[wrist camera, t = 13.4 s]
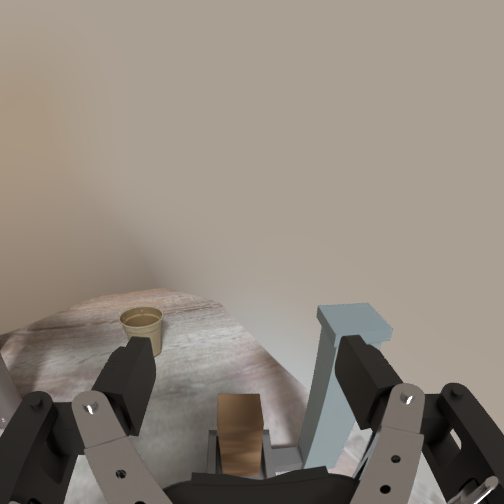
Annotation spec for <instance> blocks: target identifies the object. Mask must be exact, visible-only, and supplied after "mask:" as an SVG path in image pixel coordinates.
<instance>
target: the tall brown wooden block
mask: <svg viewBox="0 0 504 504" xmlns="http://www.w3.org/2000/svg"><path fill="white" fill-rule="evenodd" d="M263 426H264V422H263V415H262V408H261V401H260V394H218V413H217V427H218V436H219V446H220V454H221V463H222V471H223V474H228V475H233V476H239V477H245V476H259V471H260V461H261V449H262V438H263Z"/></svg>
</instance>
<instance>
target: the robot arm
mask: <svg viewBox="0 0 504 504" xmlns="http://www.w3.org/2000/svg"><path fill="white" fill-rule="evenodd" d="M335 376H336V379H337V381H338V383H339V385H340V387H341V389H342V391H343V393H344V395H345V398H346V400H347V402H348V404H349V406H350V408H351V410H352V412H353V414H354V417H355V419H356V421H357V423H358V425H359V427H360V429H361V430H364V429H368V428H371V429H372V431H373V432H372V434H371V436H370V439H369V441H368V443H367V446H366V448H365V451H364V453H363V455H362V458H361V460H360V462H359V464H358V467H357V469H356V471H355V473H354V474H353V476H352V477H349V476H345V475H340V474H332V473H328V471H327V468H326V466H320V467H314V468H307V469H300V470H293V471H290V472H287V473H284V474H281V475H277V476H274V477H271V478H267V479H263V480H257V479H250V478H244V477H239V476H233V475H228V474H210V473H192V479H191V481H184V482H180V483H176V484H173V485H171V486H168V487H166V488H164V489H161V487H160V486H159V485H158V483H157V482H156V480H155V479H154V478H153V476H152V475H151V473H150V472H149V470H148V469H147V467H146V466H145V464H144V463H143V461H142V459H141V458H140V456H139V455H138V453H137V451H136V450H135V448H134V446H133V445H132V443H131V441H130V439H129V438H128V436H129V435H133V436H138V435H139V432H140V428H141V425H142V422H143V418H144V415H145V411H146V408H147V405H148V402H149V398H150V395H151V392H152V389H153V386H154V382H155V379H156V365H155V360H154V355H153V349H152V344H151V340H150V338H149V337H138V336H132V337H131V338H130V340H129V342H128V343H127V345H126V347H121V346H120V347H119V348H118V349H116V350H115V351H114V352H112V354H111V355H110V357H109V359H108V362H106V364H105V366H104V369H102V371H101V373H100V375H99V376H98V378H97V380H96V382H95V384H94V385H93V387H92V389H91V390H90V391H84V392H82V393H80V394H78V395H77V396H76V397H75V398H74V399H73V401H72V402H53V400H52V398H51V396H50V395H49V394H48V393H46V392H43V391H35V392H32V393H29V394H28V395H26V396H25V397H24V398H23V399H22V397H21V395H20V393H19V392H18V390H17V388H16V386H15V384H14V382H13V380H12V378H11V376H10V374H9V371H8V369H7V367H6V365H5V363H4V360H3V358H2V356H1V354H0V428H2V429H5V430H4V432H3V434H2V435H1V437H0V504H64V500H65V496H66V493H67V489H68V486H69V482H70V479H71V476H72V473H73V469H74V466H75V463H76V460H77V457H78V455H86V458H87V460H88V462H89V465H90V467H91V469H92V472H93V474H94V476H95V478H96V480H97V483H98V485H99V487H100V489H101V491H102V493H103V495H104V497H105V499H106V500H107V502H108V504H407V503H408V500H409V497H410V493H411V490H412V487H413V483H414V480H415V476H416V472H417V467H418V464H419V459H420V455H421V451H422V453H423V455H424V457H425V459H426V460H427V463H428V464H429V466H430V469H431V471H432V473H433V475H434V477H435V479H436V481H437V483H438V485H439V487H440V489H441V492H442V494H443V496H444V498H445V500H446V503H447V504H504V435H503V433H502V432H501V430H500V429H499V428H498V427H497V425H496V424H495V422H494V421H493V420H492V419H491V417H490V416H489V415H488V413H487V412H486V411H485V409H484V408H483V407H482V406H481V405H480V403H479V402H478V401H477V399H476V398H475V397H474V396H473V394H472V393H471V392H470V391H469V390H468V389H467V388H466V387H465V386H464V385H461V384H459V383H449V384H447V385H445V386H444V387H443V389H442V391H441V393H440V394H424V392H423V391H422V390H421V389H420V388H419V387H417V386H415V385H413V384H408V383H403V381H402V380H401V379H400V377H399V376H398V375H397V373H396V372H395V371H394V370H393V368H392V367H391V365H390V364H389V363H388V361H387V360H386V359H384V356H383V355H382V353H381V352H380V351H379V350H378V349H377V348H375V347H374V346H372V345H371V344H366V343H365V341H364V340H363V339H362V337H361V336H360V335H359V334H357V335H347V336H342V337H341V339H340V343H339V348H338V352H337V357H336V361H335ZM452 429H454V431H455V432H456V434H457V435H458V437H459V438H460V440H461V450H460V449H459V447H458V445H457V444H456V442H455V440H454V439H453V437H452V436H451V434H450V432H451V430H452Z"/></svg>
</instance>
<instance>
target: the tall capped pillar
mask: <svg viewBox="0 0 504 504" xmlns="http://www.w3.org/2000/svg"><path fill="white" fill-rule="evenodd" d="M317 318H318V320H319V322H320V324H321V326H322V329H321V334H320V341H319V347H318V353H317V359H316V364H315V370H314V375H313V380H312V385H311V390H310V395H309V400H308V405H307V409H306V414H305V418H304V423H303V427H302V431H301V435H300V440H299V444H298V447H290V448H280V449H272V448H271V441H270V434H269V429H268V430H263V438H262V449H261V461H260V471H259V476H245V477H244V478H250V479H257V480H263V479H267V478H271V477H274V476H276V474H275V472H281V471H291V470H299V469H307V468H314V467H320V466H326V468H327V469H330V468H334V467H335V465H336V463H337V461H338V459H339V457H340V455H341V453H342V450H343V448H344V446H345V444H346V442H347V439H348V437H349V435H350V432H351V430H352V428H353V425H354V422H355V420H356V419H355V417H354V414H353V412H352V410H351V408H350V406H349V404H348V402H347V400H346V398H345V395H344V393H343V391H342V389H341V387H340V385H339V383H338V381H337V379H336V376H335V361H336V357H337V352H338V348H339V343H340V339H341V337H342V336H347V335H357V334H359V335H360V336H361V337H362V339H363V340H364V341H365V343H366V344H371V345H372V346H374V347H375V348H377V349H378V350H380V346H381V342H383V341H389V340H390V338H391V334H392V330H393V329H392V327H391V326H390V325H389V324H388V323H387V322H386V321H385V320H384V319H383V318H382V317H381V316H380V315H379V314H378V313H377V312H376V311H375V310H374V309H373V307H372V306H371V305H370V304H369V303H357V304H342V305H341V304H340V305H321V306H318V309H317ZM207 473H210V474H223V471H222V463H221V454H220V446H219V436H218V430H209V440H208V458H207Z"/></svg>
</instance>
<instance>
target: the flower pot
mask: <svg viewBox="0 0 504 504" xmlns="http://www.w3.org/2000/svg"><path fill="white" fill-rule="evenodd" d="M163 317H164V314H163V311H162V310H160V309H159V308H156V307H153V306H137V307H133V308H130V309H127V310H125V311H124V312H122V313H121V314H120V315H119V319H118V320H119V323H120V324H121V325H122V327H123V329H124V330H125V332H126V335H127V337H128V340H130V338H131V337H132V336H138V337H149V338H150V340H151V344H152V349H153V355H154V357H155V356H156V355H157V354H160V352H161V324H162V319H163Z"/></svg>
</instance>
